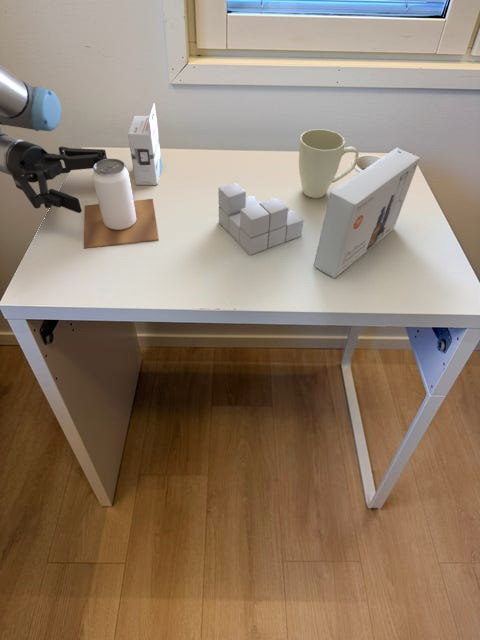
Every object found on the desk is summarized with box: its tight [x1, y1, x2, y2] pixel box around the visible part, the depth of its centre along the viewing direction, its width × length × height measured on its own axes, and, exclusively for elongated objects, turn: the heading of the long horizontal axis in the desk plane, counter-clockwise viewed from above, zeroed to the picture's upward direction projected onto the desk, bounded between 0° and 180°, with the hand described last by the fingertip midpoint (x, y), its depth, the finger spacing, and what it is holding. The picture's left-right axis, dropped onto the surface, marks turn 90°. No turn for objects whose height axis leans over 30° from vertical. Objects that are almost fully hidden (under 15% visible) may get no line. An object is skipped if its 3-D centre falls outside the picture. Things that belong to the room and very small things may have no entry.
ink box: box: [127, 102, 163, 186], centre depth 100 cm, size 9×5×15 cm, turn 179°
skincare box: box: [313, 147, 421, 279], centre depth 84 cm, size 21×5×16 cm, turn 137°
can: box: [92, 158, 136, 230], centre depth 89 cm, size 6×6×12 cm
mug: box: [298, 128, 359, 199], centre depth 98 cm, size 11×10×12 cm
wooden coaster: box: [83, 198, 160, 249], centre depth 93 cm, size 14×14×1 cm
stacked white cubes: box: [217, 182, 305, 256], centre depth 90 cm, size 12×12×8 cm
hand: (103, 188), depth 89 cm, fingers open, 13 cm apart
